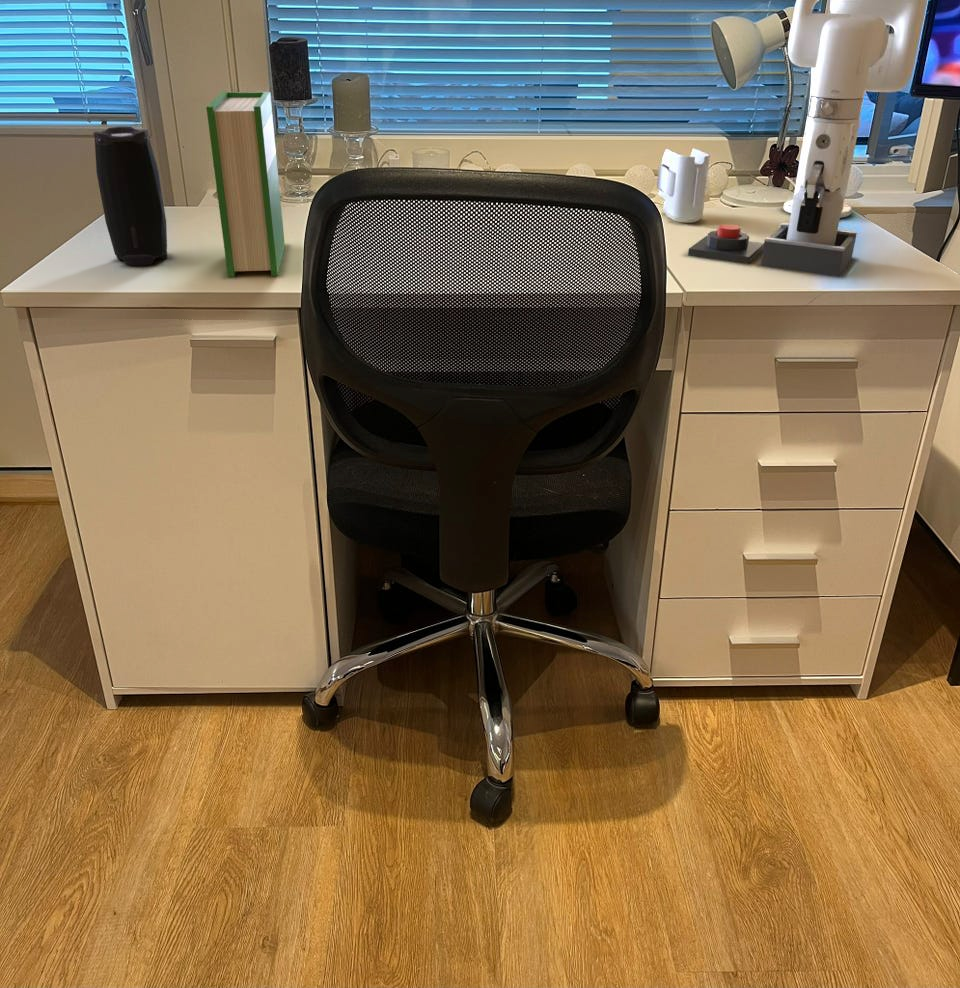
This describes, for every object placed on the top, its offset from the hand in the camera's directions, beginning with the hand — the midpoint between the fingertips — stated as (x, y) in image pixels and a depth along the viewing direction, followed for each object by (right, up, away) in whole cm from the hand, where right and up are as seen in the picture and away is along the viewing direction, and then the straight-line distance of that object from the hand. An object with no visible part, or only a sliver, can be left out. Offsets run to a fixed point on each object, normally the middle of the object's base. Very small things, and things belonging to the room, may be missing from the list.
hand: (813, 225), depth 148 cm
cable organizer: (-15, +10, +30) cm, 35 cm away
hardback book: (-89, -5, +1) cm, 89 cm away
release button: (-12, 0, +6) cm, 13 cm away
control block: (-12, -2, +8) cm, 14 cm away
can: (0, -5, +3) cm, 6 cm away
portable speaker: (-107, -5, +1) cm, 107 cm away
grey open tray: (0, -5, +3) cm, 6 cm away
